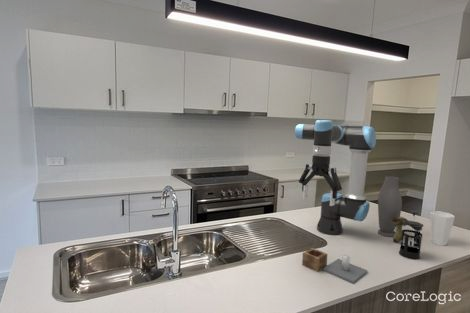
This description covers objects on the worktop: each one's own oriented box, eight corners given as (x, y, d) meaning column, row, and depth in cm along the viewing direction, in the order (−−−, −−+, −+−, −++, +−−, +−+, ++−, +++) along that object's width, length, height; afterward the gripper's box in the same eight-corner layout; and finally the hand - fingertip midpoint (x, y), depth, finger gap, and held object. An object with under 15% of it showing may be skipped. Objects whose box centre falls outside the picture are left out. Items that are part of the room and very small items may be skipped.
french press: (413, 261, 142) (418, 216, 139) (394, 253, 150) (398, 210, 147) (425, 256, 148) (431, 212, 145) (407, 249, 156) (411, 207, 153)
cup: (452, 243, 165) (456, 214, 162) (449, 249, 157) (453, 218, 155) (429, 237, 172) (432, 209, 170) (425, 242, 165) (428, 213, 163)
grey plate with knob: (322, 270, 131) (323, 255, 130) (338, 260, 140) (339, 247, 139) (353, 283, 121) (354, 267, 120) (367, 272, 130) (368, 257, 129)
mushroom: (405, 247, 158) (408, 220, 156) (387, 243, 162) (390, 217, 160) (406, 241, 166) (409, 216, 164) (389, 237, 170) (391, 213, 168)
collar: (302, 264, 135) (302, 252, 134) (311, 259, 141) (312, 247, 140) (317, 271, 129) (318, 259, 129) (326, 266, 135) (327, 253, 134)
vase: (393, 239, 167) (399, 180, 163) (370, 233, 177) (376, 176, 173) (401, 234, 176) (408, 178, 172) (379, 228, 186) (385, 174, 182)
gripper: (293, 152, 135) (290, 197, 137) (344, 159, 117) (340, 210, 119) (302, 152, 140) (299, 195, 142) (352, 157, 122) (348, 207, 124)
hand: (318, 202), depth 131 cm, fingers open, 13 cm apart
